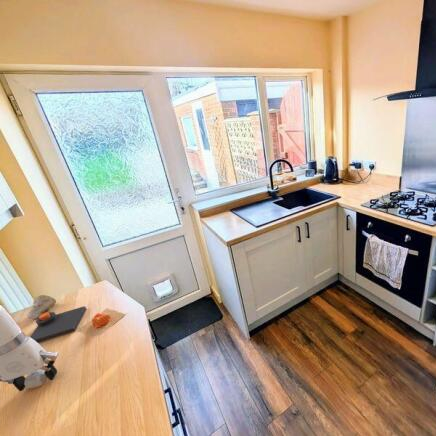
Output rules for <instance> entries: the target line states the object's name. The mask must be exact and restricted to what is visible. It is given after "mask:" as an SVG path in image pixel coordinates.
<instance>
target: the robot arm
mask: <svg viewBox="0 0 436 436" xmlns="http://www.w3.org/2000/svg"><path fill="white" fill-rule="evenodd" d="M58 356H59V352H51V351H46V350H45V349H44V347H43V346H42V345H41V344H40V343H37V342H36V341H35V340H33V339H32V338H31V337H30V336H27V335H26V334H25V332H24V331H23V330H22V329H21V328H20V326H19V325H18V324H17V323H16V321H15V320H14V318H12V316H11V315H10V314H9V313H8V311H7V310H6V308H5V307H4V306H3V305H1V304H0V382H3V383H7V384H8V385H13V386H14V387H15V388H16V389H17V391H19V392H22V391H24V390H25V389H26V386H25V385H24V382H25V379H26V377H25V376H27V375H28V374H30V373H32V372H35V371H37V370H39V369H41V370H44V371H45V372H44V374H45V375H46V376H47V377H48V378H47V380H49V381H53V380H54V379H55V377H56V375H57V373H58V369H57V368H56V367H55V365H54V364H55V362H56V360H57V358H58Z"/></svg>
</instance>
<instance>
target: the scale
mask: <svg viewBox="0 0 436 436" xmlns="http://www.w3.org/2000/svg"><path fill="white" fill-rule="evenodd" d="M86 311H87V307H86V306H80V307H77V308H73V309H70V310H67V311H63V312H60V313H57V314H56V312H54V311H50V313H49V314H50V317H49V318H48V319H46V320H44V321H41V320H40V318H39V317H38V318H36V321H35V324H36V325H37V326H36V328H35V329H34V331H33V332H32V333H31V334H30V336H29V337H31V338H32V339H33V340H35V341H36V342H37V343H38V344H40V343H42V342H46V341H49V340H52V339H55V338H58V337H61V336H65V335H68V334H71V333H74V332H76V331H77V330H78V329H77V328H78V327H79V325H80V323H81V321H82V319H83V317H84V315H85V314H86Z"/></svg>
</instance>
